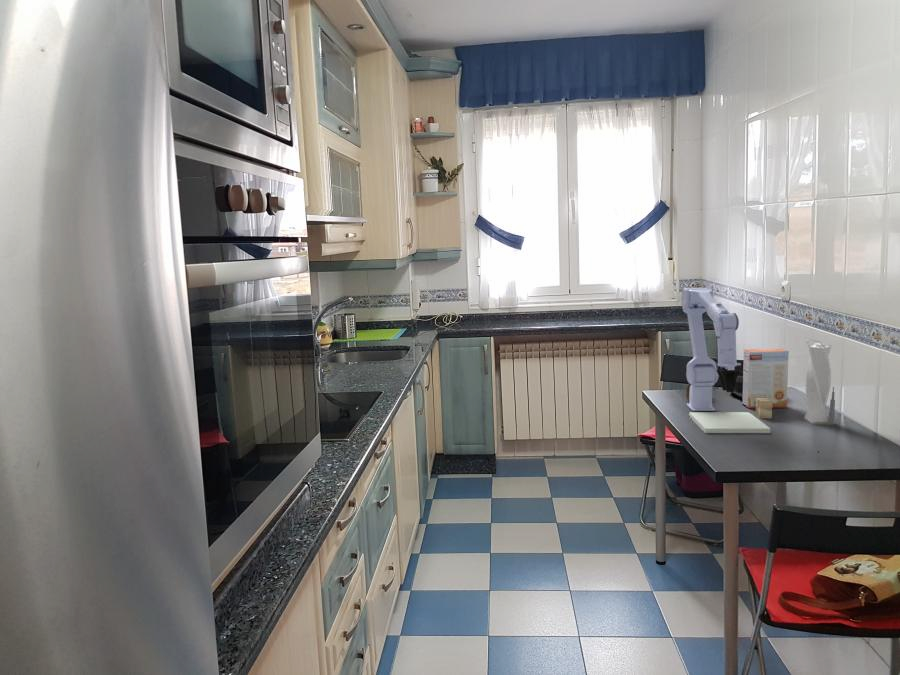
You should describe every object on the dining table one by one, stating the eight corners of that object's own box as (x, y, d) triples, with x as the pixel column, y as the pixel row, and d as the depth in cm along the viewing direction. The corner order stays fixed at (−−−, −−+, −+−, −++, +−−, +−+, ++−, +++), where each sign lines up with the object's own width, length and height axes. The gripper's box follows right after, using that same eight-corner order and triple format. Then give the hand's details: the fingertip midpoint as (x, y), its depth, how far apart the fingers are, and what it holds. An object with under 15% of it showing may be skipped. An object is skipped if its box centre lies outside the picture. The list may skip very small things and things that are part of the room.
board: (689, 416, 241) (689, 412, 241) (748, 416, 239) (748, 412, 239) (705, 433, 221) (705, 428, 221) (770, 433, 220) (770, 428, 219)
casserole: (725, 387, 284) (726, 367, 282) (775, 389, 278) (776, 369, 276) (729, 401, 260) (730, 380, 259) (784, 404, 254) (785, 382, 253)
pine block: (755, 415, 241) (756, 398, 240) (767, 415, 241) (768, 398, 240) (759, 418, 237) (760, 401, 236) (771, 418, 237) (772, 401, 236)
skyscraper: (809, 425, 228) (814, 341, 224) (798, 419, 236) (802, 337, 232) (835, 425, 228) (840, 340, 223) (823, 418, 236) (827, 337, 231)
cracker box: (779, 403, 255) (782, 347, 252) (787, 408, 249) (789, 350, 246) (741, 404, 255) (743, 348, 252) (747, 408, 249) (750, 351, 246)
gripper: (744, 350, 221) (745, 392, 221) (735, 349, 235) (737, 389, 235) (720, 350, 222) (721, 393, 222) (713, 349, 236) (715, 389, 236)
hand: (728, 391), depth 229 cm, fingers open, 7 cm apart
